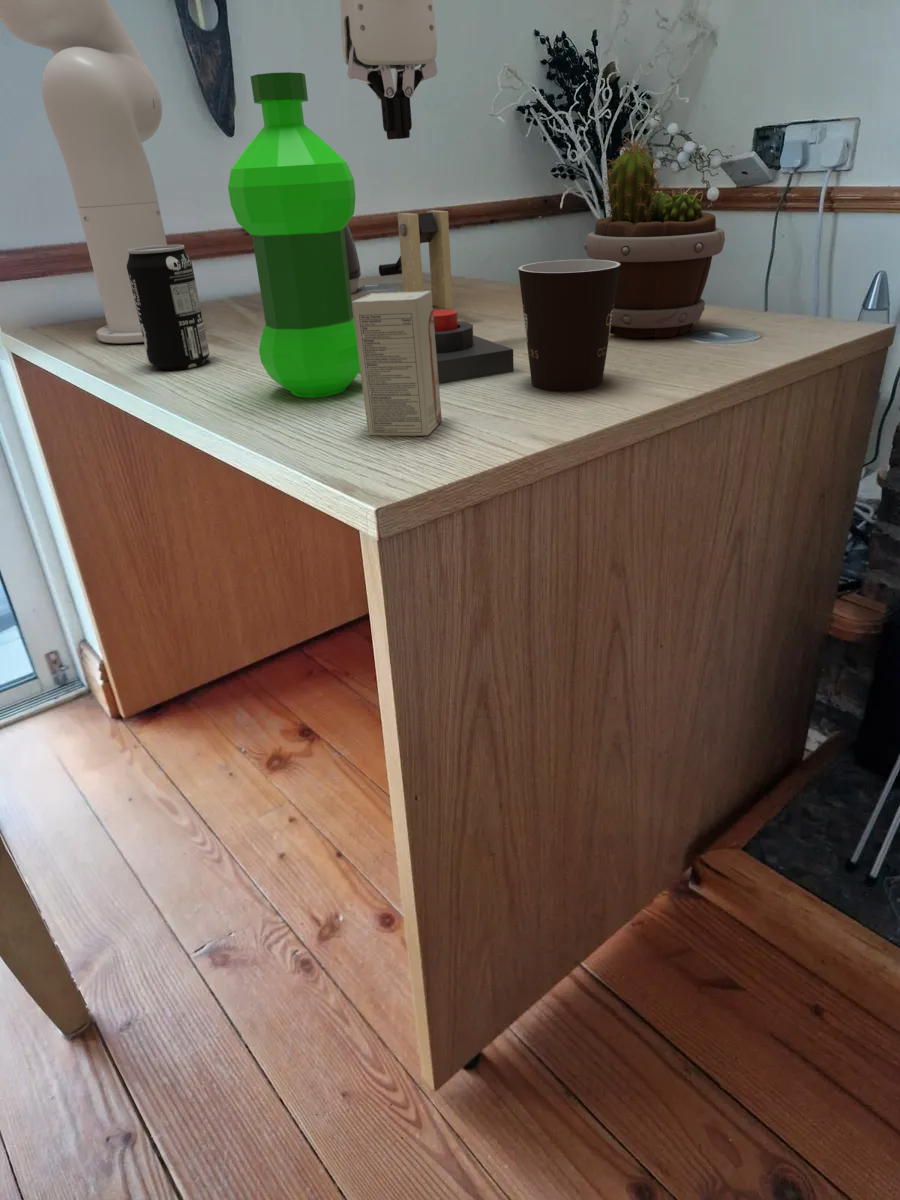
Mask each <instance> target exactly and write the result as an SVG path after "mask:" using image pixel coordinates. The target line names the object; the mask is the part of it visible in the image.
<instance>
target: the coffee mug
mask: <svg viewBox="0 0 900 1200" xmlns="http://www.w3.org/2000/svg"><path fill="white" fill-rule="evenodd" d="M517 269H518V277H519V285H520V294H521V295H520V296H521V303H522V312H523V320H524V329H525V330H524V331H525V339H526V346H527V353H528V354H527V355H528V364H529V374H530V380H531V381H530V382H531V386H532V387H533V388H535V389H537V390H539V391H540V390H541V391H546V392H552V393H575V392H584V391H589V390H593V389H597V388H599V387H600V386H601V385H602V384H603V380H604V374H605V367H606V359H607V353H608V347H609V341H610V334H611V333H610V328H611V322H612V315H613V309H614V302H615V296H616V289H617V283H618V276H619V270H620V263H618V262H615V261H607V260H595V259H561V260H560V259H559V260H547V261H539V262H533V263H528V264H523V265H521V266H519V267H517Z"/></svg>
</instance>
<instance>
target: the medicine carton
mask: <svg viewBox="0 0 900 1200" xmlns="http://www.w3.org/2000/svg"><path fill="white" fill-rule="evenodd" d="M433 306H434V305H432V290H423V291H416V292H404V291H391V292H371V293H369V294H367V295H365V296H362V297H359V298H358V299H355V300H352V309H353V316H354V324H355V332H356V340H357V348H358V356H359V364H360V371H359V372H360V378H361V386H362V387H361V388H362V394H363V395H362V396H363V402H364V403H363V404H364V410H365V411H364V412H365V419H366V426H367V434H368V435H367V436H384V437H385V436H386V437H391V436H393V437H394V436H395V437H397V436H400V437H401V436H403V437H417V436H422V437H423V436H424V437H425V436H426V437H428V436H429V435H430V434H431V433H432V432H434V430H435V429H436V428H437V427H438V425H439V424H441V422H442V420H443V419H442V417H443V416H442V406H441V392H440V391H441V390H440V384H439V380H438V367H437V354H436V342H435V329H434V318H433V310H434V308H433Z"/></svg>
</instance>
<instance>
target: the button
mask: <svg viewBox="0 0 900 1200" xmlns="http://www.w3.org/2000/svg"><path fill="white" fill-rule="evenodd" d="M433 318H434V329H435V331H448V330H454V329H457V328H458V321H459V320H458V311H457V310H455V309H444V308H441V309H433Z"/></svg>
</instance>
